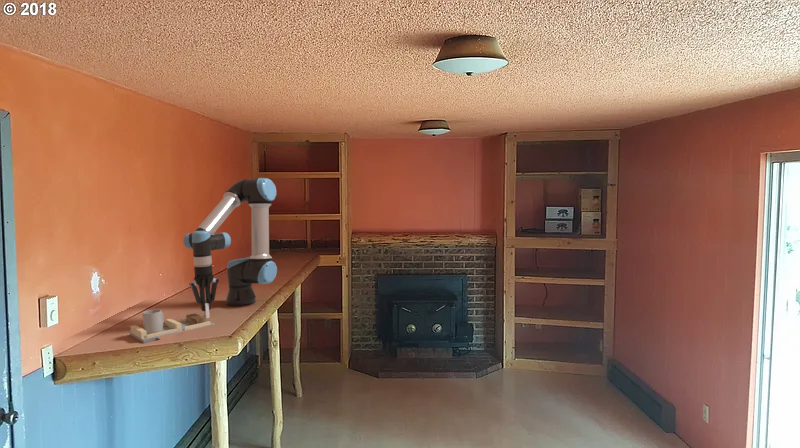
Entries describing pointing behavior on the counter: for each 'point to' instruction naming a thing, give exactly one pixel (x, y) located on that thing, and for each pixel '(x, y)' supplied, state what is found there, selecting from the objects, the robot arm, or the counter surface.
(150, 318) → the cup
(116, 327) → the counter surface
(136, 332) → the jig
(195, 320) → the brown rounded bar
